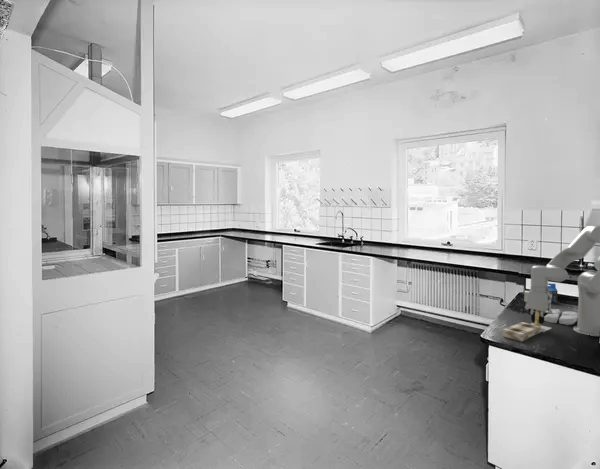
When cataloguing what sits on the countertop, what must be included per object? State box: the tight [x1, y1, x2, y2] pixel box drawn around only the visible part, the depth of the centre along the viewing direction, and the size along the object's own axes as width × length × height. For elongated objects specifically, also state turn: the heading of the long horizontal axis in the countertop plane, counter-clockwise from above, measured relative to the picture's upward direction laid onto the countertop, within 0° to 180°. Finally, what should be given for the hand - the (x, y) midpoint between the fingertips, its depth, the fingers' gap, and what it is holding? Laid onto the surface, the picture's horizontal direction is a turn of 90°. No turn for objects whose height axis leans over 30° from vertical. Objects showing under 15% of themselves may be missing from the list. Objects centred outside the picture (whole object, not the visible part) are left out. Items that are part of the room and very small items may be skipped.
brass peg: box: [533, 310, 542, 326], centre depth 192 cm, size 3×3×10 cm
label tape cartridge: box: [548, 282, 558, 304], centre depth 243 cm, size 9×4×12 cm, turn 73°
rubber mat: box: [530, 322, 552, 333], centre depth 192 cm, size 10×10×1 cm
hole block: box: [502, 321, 542, 342], centre depth 183 cm, size 9×20×4 cm, turn 123°
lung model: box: [544, 308, 578, 326], centre depth 207 cm, size 7×17×25 cm
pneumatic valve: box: [519, 290, 529, 303], centre depth 227 cm, size 6×12×12 cm, turn 56°
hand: (537, 322), depth 192 cm, fingers closed on brass peg, 3 cm apart
